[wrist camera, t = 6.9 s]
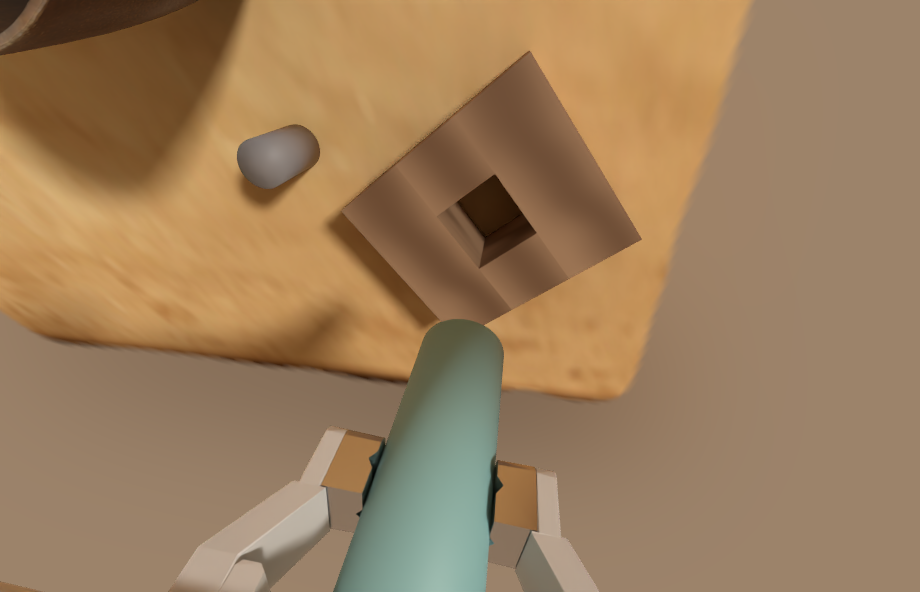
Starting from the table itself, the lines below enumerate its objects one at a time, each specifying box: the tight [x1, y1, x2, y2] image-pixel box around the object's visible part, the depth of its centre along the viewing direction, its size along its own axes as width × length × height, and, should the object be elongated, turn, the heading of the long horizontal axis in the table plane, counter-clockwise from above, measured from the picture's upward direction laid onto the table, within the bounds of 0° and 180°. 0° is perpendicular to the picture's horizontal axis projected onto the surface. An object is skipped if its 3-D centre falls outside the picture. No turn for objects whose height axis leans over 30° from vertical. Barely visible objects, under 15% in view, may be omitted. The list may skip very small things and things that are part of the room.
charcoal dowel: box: [237, 125, 320, 189], centre depth 27 cm, size 3×3×5 cm
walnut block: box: [341, 51, 642, 325], centre depth 27 cm, size 14×12×5 cm
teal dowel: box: [333, 319, 504, 592], centre depth 10 cm, size 3×3×10 cm
